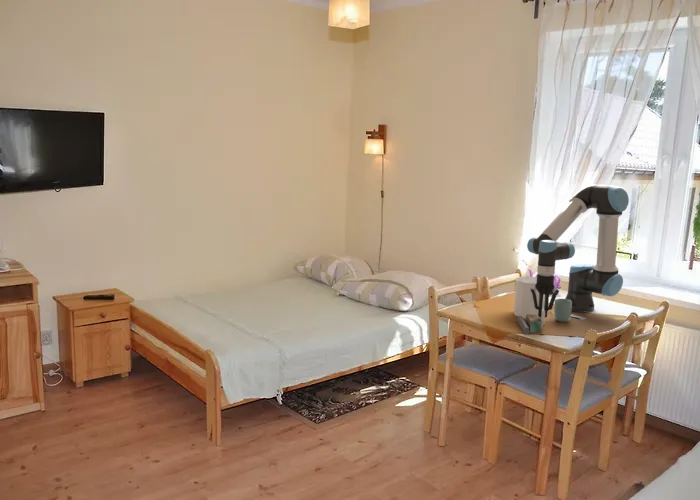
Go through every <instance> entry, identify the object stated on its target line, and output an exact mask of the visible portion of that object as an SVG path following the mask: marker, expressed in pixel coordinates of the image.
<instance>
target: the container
mask: <svg viewBox="0 0 700 500" xmlns="http://www.w3.org/2000/svg"><path fill="white" fill-rule="evenodd" d="M536 283H537V277H535V276H533V277H530V276H519V277H516V278H515V288H514V289H515V291H514V292H515V293H514V294H515V295H514V304H513V305H514V307H513V315H514V316H516V317H518V316H522V318H523V319H526V314H529V315H537V316H538V309H536V308H535V307H534V301H533V296H532V292H531V290H530V288H533V287H535V285H536ZM535 293H536V298H537V304H538V306H539V292H538V290H537V289H536V292H535ZM544 303H545V294H544V295H543V305H542V310H544ZM538 317H539V316H538ZM539 318H540V317H539Z"/></svg>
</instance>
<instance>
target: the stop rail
mask: <svg viewBox="0 0 700 500" xmlns="http://www.w3.org/2000/svg"><path fill="white" fill-rule="evenodd" d="M517 323H518V324H519V326H520V327H521V329H522V331H523V333H524V335H529V333H530V331H529V327H528V325H527V324H526V320H525V318H522V316H517Z"/></svg>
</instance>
